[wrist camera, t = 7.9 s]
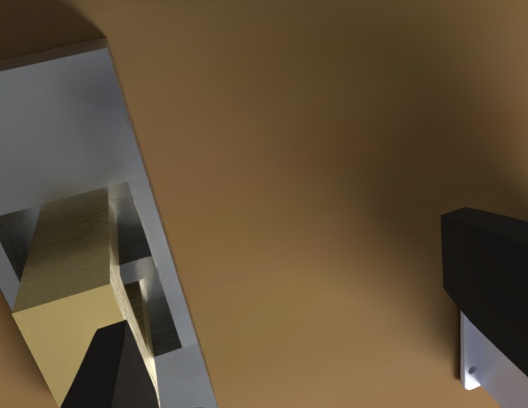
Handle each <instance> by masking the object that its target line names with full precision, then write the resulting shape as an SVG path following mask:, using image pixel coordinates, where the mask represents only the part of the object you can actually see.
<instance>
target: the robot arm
mask: <svg viewBox="0 0 528 408" xmlns="http://www.w3.org/2000/svg"><path fill="white" fill-rule="evenodd" d="M441 236H442V262H443V287H444V289H445V290H446V292H447V293H448V294H449V296H450V297H451V298H452V300H453V301H454V302H455V304H456V305H457V306H458V308H459V309H460V310H461V384H462V385H463V387H464V388H465V389H468V390H470V389H473V388H476V387H478V386H482V387H483V388H484V389H485V390H486V391H487V392H488V393H489V395H490V396H491V397H492V398H493V399H494V400H495V401H496V402H497V403H498V404H499V405H500V406H501V408H528V222H526V221H522V220H518V219H514V218H511V217H507V216H503V215H499V214H494V213H490V212H486V211H481V210H476V209H471V208H461V209H458V210H455V211H452V212H449V213H446V214H443V215H441ZM60 408H159V405H158V399H157V394H156V390H155V387H154V385H153V382H152V380H151V377H150V375H149V372H148V370H147V367H146V365H145V363H144V360H143V358H142V355H141V353H140V350H139V348H138V345H137V343H136V340H135V338H134V335H133V333H132V330H131V328H130V325H129V323H128V320H127V319H126V320H123V321H120V322H117V323H114V324H111V325H108V326H105V327H102V328H99V329H97V330H96V332H95V334H94V336H93V338H92V340H91V342H90V345H89V347H88V349H87V351H86V354H85V356H84V358H83V361H82V363H81V365H80V367H79V369H78V372H77V374H76V376H75V378H74V380H73V382H72V384H71V386H70V388H69V390H68V392H67V394H66V396H65V399H64V401H63V403H62V405H61V407H60Z"/></svg>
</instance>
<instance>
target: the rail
mask: <svg viewBox="0 0 528 408" xmlns="http://www.w3.org/2000/svg"><path fill="white" fill-rule="evenodd" d="M107 194H108V195H109V198H110V200H111V203H112V206H113V209H114V212H115V215H116V218H117V232H118V250H119V268H120V277H121V280H122V282H123V285H124V288H125V289H128V288H131V287H135V286H138V285H140V286H141V289H142V292H143V295H144V298H145V301H146V303H147V308H148V316H149V324H150V331H151V339H152V346H153V354H154V361H155V369H156V376H157V384H158V391H159V399H160V406H161V408H218V405H217V401H216V398H215V394H214V390H213V386H212V383H211V379H210V375H209V371H208V368H207V364H206V361H205V358H204V354H203V351H202V348H201V345H200V341H199V338H198V335H197V331H196V328H195V325H194V322H193V318H192V315H191V312H190V309H189V305H188V302H187V299H186V295H185V292H184V289H183V286H182V282H181V279H180V276H179V273H178V269H177V266H176V263H175V259H174V256H173V253H172V250H171V246H170V243H169V240H168V237H167V233H166V230H165V227H164V223H163V220H162V217H161V214H160V210H159V207H158V204H157V201H156V197H155V194H154V191H153V187H152V184H151V181H150V178H149V174H148V171H147V168H146V164H145V161H144V158H143V155H142V151H141V148H140V145H139V142H138V138H137V135H136V132H135V128H134V125H133V122H132V119H131V115H130V112H129V109H128V106H127V102H126V99H125V96H124V92H123V89H122V86H121V83H120V79H119V76H118V73H117V70H116V66H115V63H114V60H113V56H112V53H111V50H110V47H109V43H108V40H107V37H103V38H99V39H94V40H89V41H85V42H80V43H76V44H71V45H67V46H62V47H57V48H53V49H48V50H44V51H39V52H35V53H30V54H26V55H21V56H16V57H12V58H7V59H3V60H0V289H1V291H2V292H3V294H4V296H5V298H6V300H7V302H8V304H9V306H10V308H11V310H12V311H13V307H14V303H15V300H16V296H17V292H18V289H19V285H20V281H21V278H22V274H23V270H24V267H25V263H26V259H27V256H28V252H29V248H30V245H31V241H32V237H33V234H34V230H35V226H36V223H37V219H38V215H39V213H41V212H44V211H48V210H52V209H55V208H59V207H63V206H66V205H70V204H74V203H77V202H81V201H85V200H88V199H92V198H96V197H99V196H103V195H107Z"/></svg>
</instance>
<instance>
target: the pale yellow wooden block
mask: <svg viewBox="0 0 528 408" xmlns="http://www.w3.org/2000/svg"><path fill="white" fill-rule="evenodd" d="M12 316H13V317H14V319H15V321H16V323H17V325H18V327H19V329H20V331H21V333H22V335H23V337H24V339H25V341H26V343H27V345H28V347H29V349H30V351H31V353H32V355H33V357H34V359H35V361H36V363H37V365H38V367H39V369H40V371H41V373H42V375H43V377H44V379H45V381H46V383H47V385H48V387H49V389H50V391H51V393H52V394H53V396H54V398H55V400H56V402H57V404H58V406H59V408H60V407H61V405H62V403H63V401H64V399H65V396H66V394H67V392H68V390H69V388H70V386H71V384H72V382H73V380H74V378H75V376H76V374H77V372H78V369H79V367H80V365H81V363H82V361H83V358H84V356H85V354H86V351H87V349H88V347H89V345H90V342H91V340H92V338H93V336H94V334H95V332H96V330H97V329H99V328H102V327H105V326H108V325H111V324H114V323H117V322H120V321H123V320H126V319H127V320H128V323H129V325H130V328H131V330H132V333H133V335H134V338H135V340H136V343H137V345H138V348H139V350H140V353H141V355H142V358H143V360H144V363H145V365H146V367H147V370H148V372H149V375H150V377H151V380H152V382H153V385H154V387H155V390H156V394H157V399H158V405H159V408H161V406H160V399H159V391H158V384H157V376H156V369H155V361H154V354H153V346H152V339H151V331H150V324H149V316H148V308H147V303H146V301H145V298H144V295H143V292H142V289H141V286H140V285H138V286H135V287H131V288H128V289H125V288H124V285H123V282H122V280H121V277H120V268H119V250H118V232H117V218H116V215H115V212H114V209H113V206H112V203H111V200H110V198H109V195H108V194H107V195H103V196H99V197H96V198H92V199H88V200H85V201H81V202H77V203H74V204H70V205H66V206H63V207H59V208H55V209H52V210H48V211H44V212H41V213H39V215H38V219H37V223H36V226H35V230H34V234H33V237H32V241H31V245H30V248H29V252H28V256H27V259H26V263H25V267H24V270H23V274H22V278H21V281H20V285H19V289H18V292H17V296H16V300H15V303H14V307H13V311H12Z"/></svg>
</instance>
